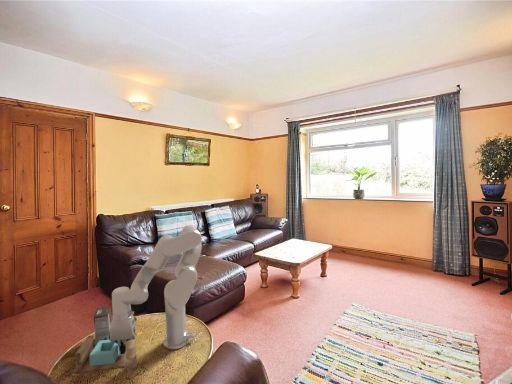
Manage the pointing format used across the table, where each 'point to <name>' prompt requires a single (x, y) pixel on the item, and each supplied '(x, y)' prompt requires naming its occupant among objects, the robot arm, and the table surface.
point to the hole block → (104, 353)
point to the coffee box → (102, 324)
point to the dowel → (131, 355)
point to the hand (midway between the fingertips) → (123, 351)
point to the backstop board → (84, 358)
